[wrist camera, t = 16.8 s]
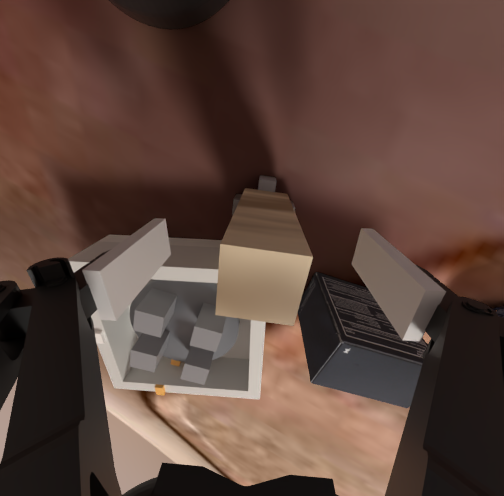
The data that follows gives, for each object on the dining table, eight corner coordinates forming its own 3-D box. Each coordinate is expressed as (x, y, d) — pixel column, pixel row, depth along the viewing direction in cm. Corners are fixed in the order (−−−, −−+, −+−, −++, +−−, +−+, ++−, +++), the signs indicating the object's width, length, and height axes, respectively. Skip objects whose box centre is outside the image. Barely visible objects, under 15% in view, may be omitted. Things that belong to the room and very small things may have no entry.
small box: (293, 308, 30) (306, 386, 20) (314, 269, 27) (340, 338, 18) (364, 330, 31) (408, 413, 21) (392, 294, 28) (456, 372, 18)
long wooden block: (238, 172, 22) (197, 218, 9) (296, 180, 22) (343, 238, 9) (233, 227, 25) (195, 326, 12) (285, 234, 25) (308, 342, 12)
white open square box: (109, 234, 26) (61, 263, 20) (268, 242, 26) (269, 274, 19) (139, 346, 35) (112, 391, 28) (260, 354, 34) (259, 402, 28)
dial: (134, 341, 31) (109, 379, 26) (142, 256, 25) (112, 285, 20) (223, 364, 32) (215, 405, 27) (253, 288, 26) (250, 323, 21)
